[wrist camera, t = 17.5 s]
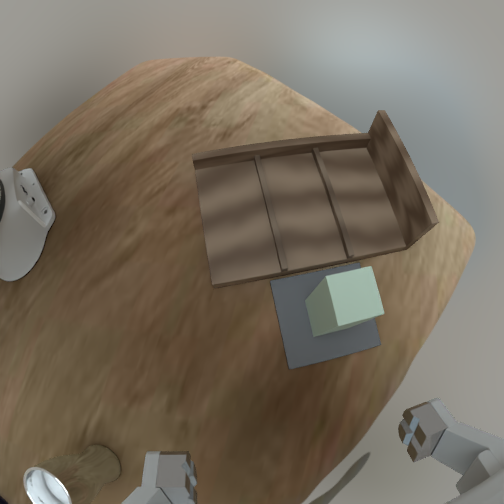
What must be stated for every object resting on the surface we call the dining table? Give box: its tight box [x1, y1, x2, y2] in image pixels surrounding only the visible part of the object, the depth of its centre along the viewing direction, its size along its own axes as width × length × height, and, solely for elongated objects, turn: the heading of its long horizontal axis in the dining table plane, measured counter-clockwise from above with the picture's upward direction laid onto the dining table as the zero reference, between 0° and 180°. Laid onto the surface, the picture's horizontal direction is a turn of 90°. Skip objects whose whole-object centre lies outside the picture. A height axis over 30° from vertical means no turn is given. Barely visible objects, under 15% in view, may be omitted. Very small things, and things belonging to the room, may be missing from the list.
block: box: [305, 266, 384, 337], centre depth 35 cm, size 5×5×12 cm
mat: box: [270, 263, 381, 369], centre depth 41 cm, size 12×13×1 cm
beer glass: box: [24, 445, 121, 504], centre depth 26 cm, size 7×7×15 cm
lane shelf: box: [192, 110, 439, 288], centre depth 42 cm, size 19×29×10 cm, turn 101°
